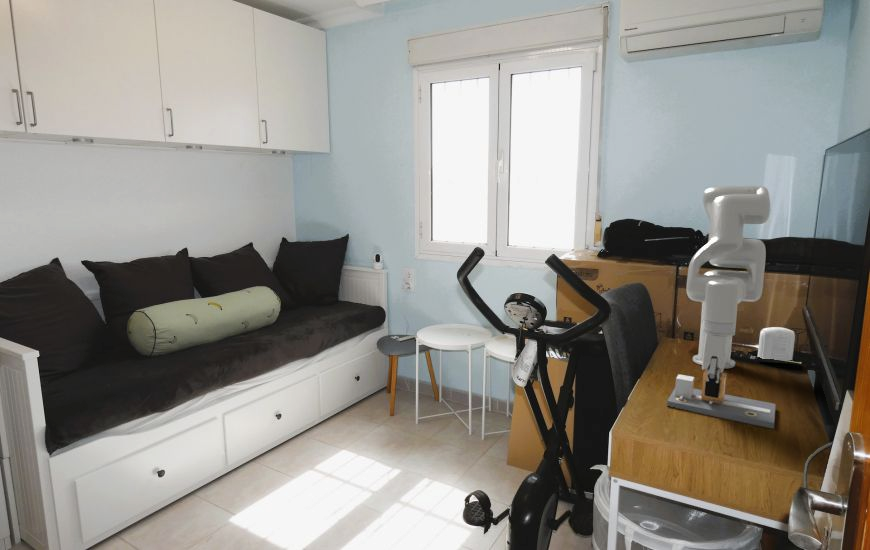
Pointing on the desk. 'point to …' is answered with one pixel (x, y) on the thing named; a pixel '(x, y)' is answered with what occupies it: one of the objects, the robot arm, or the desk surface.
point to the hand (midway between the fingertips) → (713, 391)
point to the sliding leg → (721, 389)
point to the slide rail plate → (721, 405)
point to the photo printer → (776, 343)
